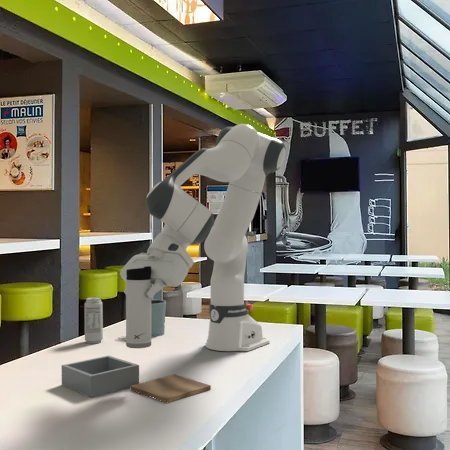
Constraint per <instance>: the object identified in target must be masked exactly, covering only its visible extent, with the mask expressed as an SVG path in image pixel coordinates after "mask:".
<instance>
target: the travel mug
mask: <svg viewBox="0 0 450 450" xmlns="http://www.w3.org/2000/svg"><path fill="white" fill-rule="evenodd" d="M126 275H127V277H126V281H127V282H125V289H126V294H125V299H126V300H125V308H126V309H125V313H126V314H125V346H126V348H129V349H145V348H149V347H151V346H152V336H151V300H152V298H147V297H146V296H145V292H146V290H147V289H150V288H151V287H152V285H151V277H150V276H151V266H146V267H144V268H137V269H128V270H126Z"/></svg>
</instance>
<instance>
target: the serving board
mask: <svg viewBox="0 0 450 450" xmlns="http://www.w3.org/2000/svg"><path fill="white" fill-rule="evenodd" d="M211 388H212V386H211V385H210V384H207V383H203V382H201V381H198V380H194V379H191V378H188V377H184V376H181V375H178V374H171V375H167V376H163V377H158V378H155V379H151V380H148V381H144V382H139V384H135V385H132V386H131V387H130V390H131V391H133V392H135V391H137V392H136V393H138V392H139V393H138V394H141V393H142V395H143V394H145V395H144V396H146V395H148V396H147V397H149V396H151V397H154V398H156V399H155V400H157V399H158V400H157V401H159V400H161V401H160V402H162V401H163V403H165V402H166V403H165V404H168V403H171V401H172V402H174V400H175V401H177V400H181V399H185V398H187V397H191V396H194V395H197V394H200V393H204V392H207V391H210V390H211ZM151 397H150V398H151ZM154 398H153V399H154ZM167 402H168V403H167Z"/></svg>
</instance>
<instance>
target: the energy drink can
mask: <svg viewBox="0 0 450 450" xmlns="http://www.w3.org/2000/svg"><path fill="white" fill-rule="evenodd" d="M85 300H86V301H84V341H85V343H87V344H99V343H101V342H102V340H103V339H104V336H103V334H104V333H103V332H104V331H103V330H104V329H103V326H104V325H103V324H104V323H103V322H104V321H103V320H104V319H103V316H104V315H103V313H104V312H103V301H102V300H101V297H97V296H96V297H95V296H93V297H87V298H85Z"/></svg>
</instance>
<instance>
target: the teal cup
mask: <svg viewBox="0 0 450 450" xmlns="http://www.w3.org/2000/svg"><path fill="white" fill-rule="evenodd" d="M166 306H167V301H166V300H164V299H153V298H151V337H159V336H163V335H165V332H166V331H165V329H166V327H165V322H166Z"/></svg>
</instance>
